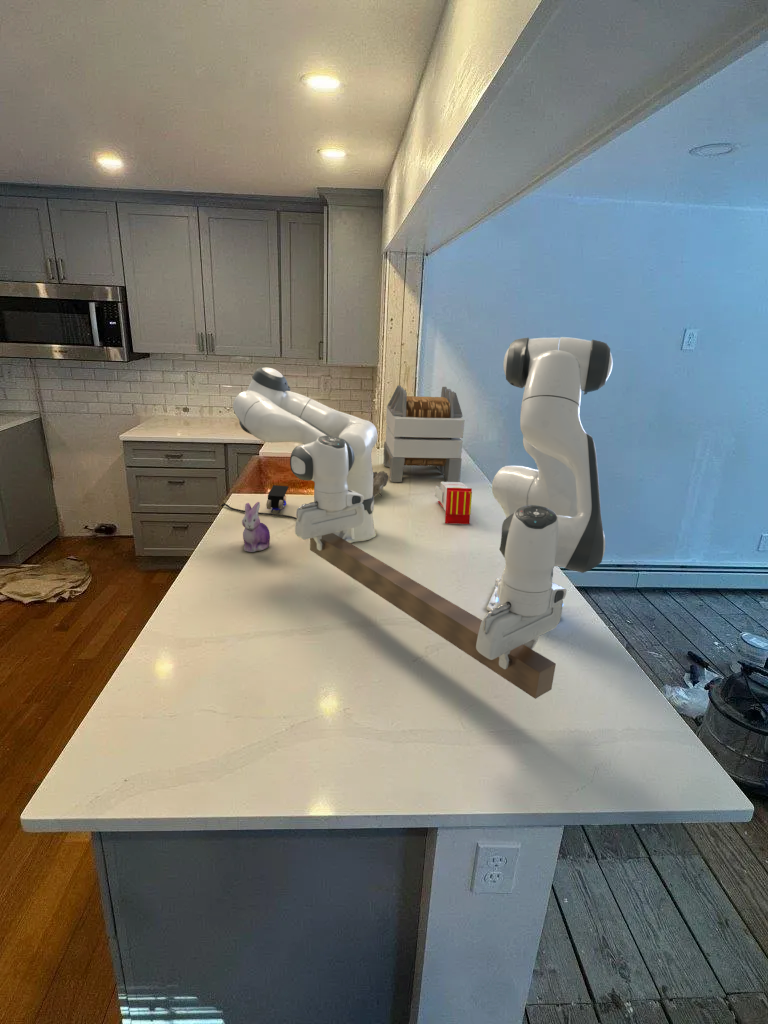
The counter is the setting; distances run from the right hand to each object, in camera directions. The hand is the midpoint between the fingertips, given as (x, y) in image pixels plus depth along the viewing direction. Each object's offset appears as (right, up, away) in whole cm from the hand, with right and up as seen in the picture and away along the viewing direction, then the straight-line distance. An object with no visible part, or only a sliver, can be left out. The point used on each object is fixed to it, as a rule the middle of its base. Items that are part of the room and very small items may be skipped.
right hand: (515, 660), depth 107 cm
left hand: (-39, +19, +47) cm, 64 cm away
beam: (-20, +6, +24) cm, 32 cm away
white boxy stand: (-7, +47, +168) cm, 175 cm away
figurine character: (-66, +29, +112) cm, 133 cm away
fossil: (-30, +35, +132) cm, 140 cm away
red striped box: (+2, +28, +117) cm, 121 cm away
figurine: (-66, +17, +77) cm, 103 cm away
